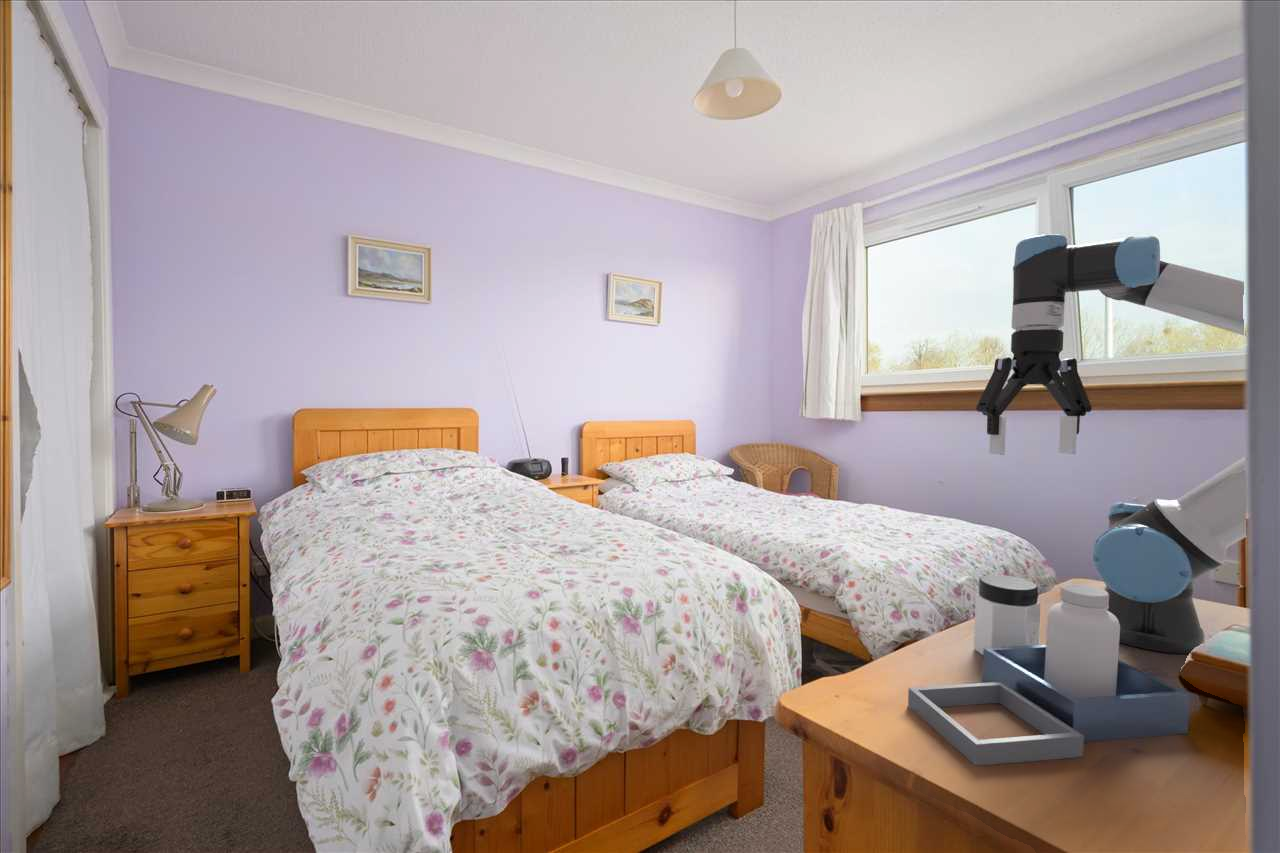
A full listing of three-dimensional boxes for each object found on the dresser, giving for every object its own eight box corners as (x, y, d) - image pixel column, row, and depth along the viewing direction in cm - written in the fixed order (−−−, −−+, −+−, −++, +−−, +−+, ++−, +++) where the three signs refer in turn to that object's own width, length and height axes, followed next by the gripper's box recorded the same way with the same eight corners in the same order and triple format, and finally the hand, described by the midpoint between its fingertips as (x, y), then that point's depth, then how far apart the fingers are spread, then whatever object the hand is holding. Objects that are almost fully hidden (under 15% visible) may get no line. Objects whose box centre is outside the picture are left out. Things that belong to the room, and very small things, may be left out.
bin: (1080, 675, 93) (1081, 642, 93) (1187, 733, 78) (1189, 694, 77) (982, 681, 91) (983, 648, 91) (1072, 742, 75) (1074, 702, 75)
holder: (1000, 699, 86) (1000, 681, 86) (1083, 756, 72) (1083, 735, 72) (908, 705, 84) (908, 687, 84) (975, 765, 71) (976, 744, 70)
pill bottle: (1092, 718, 79) (1097, 601, 78) (1030, 690, 86) (1034, 583, 86) (1129, 705, 82) (1135, 594, 81) (1067, 680, 90) (1071, 577, 89)
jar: (1018, 671, 95) (1021, 593, 94) (965, 652, 101) (967, 580, 101) (1046, 657, 100) (1049, 583, 99) (994, 640, 106) (996, 571, 106)
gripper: (986, 326, 101) (982, 456, 102) (1120, 329, 105) (1115, 455, 106) (956, 330, 108) (952, 452, 110) (1082, 333, 112) (1077, 450, 113)
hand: (1032, 454), depth 108 cm, fingers open, 13 cm apart
